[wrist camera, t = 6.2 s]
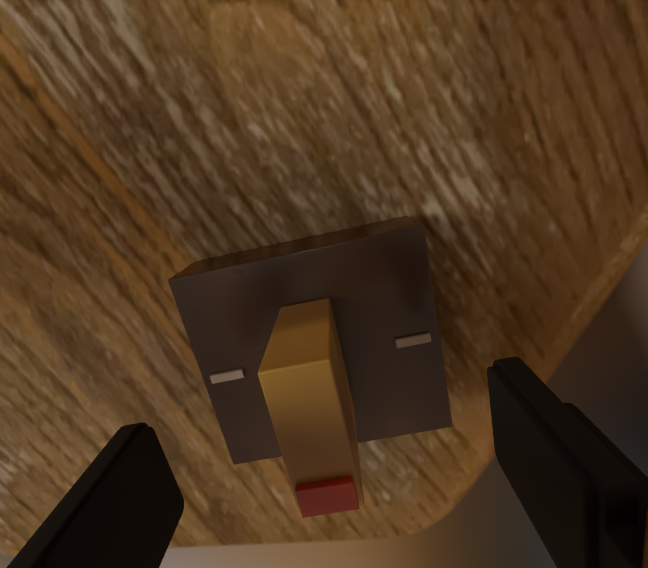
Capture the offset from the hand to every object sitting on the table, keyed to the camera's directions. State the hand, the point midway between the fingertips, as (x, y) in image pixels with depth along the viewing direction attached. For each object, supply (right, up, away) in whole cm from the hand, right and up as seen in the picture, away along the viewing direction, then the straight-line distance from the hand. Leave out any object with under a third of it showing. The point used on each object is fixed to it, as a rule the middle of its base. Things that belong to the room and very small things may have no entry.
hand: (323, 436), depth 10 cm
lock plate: (0, +2, +8) cm, 8 cm away
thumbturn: (0, +1, +5) cm, 5 cm away
